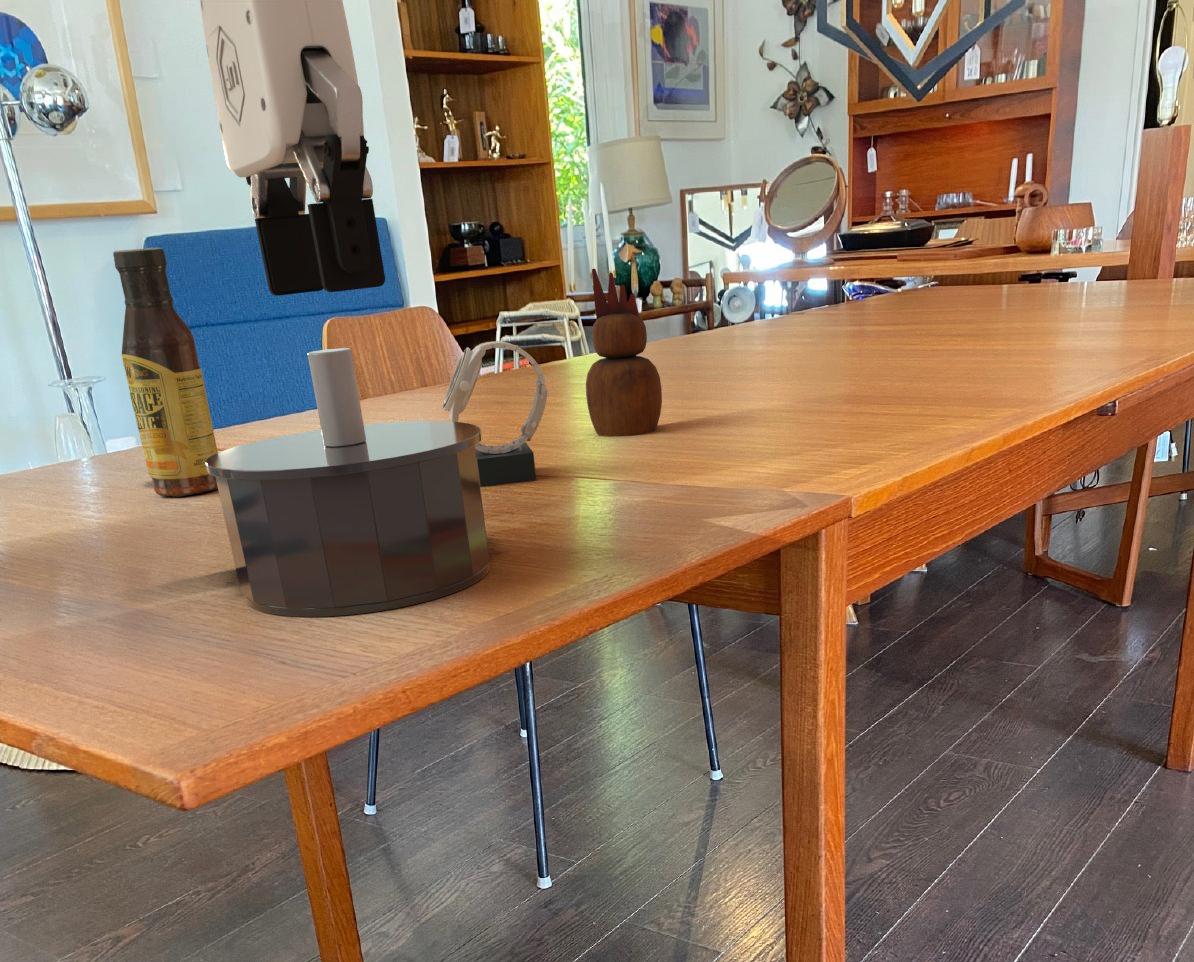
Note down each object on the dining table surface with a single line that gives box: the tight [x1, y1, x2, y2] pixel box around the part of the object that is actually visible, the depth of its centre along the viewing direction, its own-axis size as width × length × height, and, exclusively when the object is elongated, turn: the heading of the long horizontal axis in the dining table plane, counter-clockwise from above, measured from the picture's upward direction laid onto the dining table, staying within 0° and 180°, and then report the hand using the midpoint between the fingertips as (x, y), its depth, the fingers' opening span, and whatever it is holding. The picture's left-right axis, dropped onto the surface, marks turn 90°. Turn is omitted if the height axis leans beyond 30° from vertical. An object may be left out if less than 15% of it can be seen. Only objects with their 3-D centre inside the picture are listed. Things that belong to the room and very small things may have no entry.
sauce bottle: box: [112, 247, 219, 498], centre depth 100 cm, size 6×6×20 cm
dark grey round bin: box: [215, 446, 491, 618], centre depth 68 cm, size 15×15×8 cm
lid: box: [205, 347, 483, 480], centre depth 66 cm, size 16×16×6 cm
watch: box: [442, 340, 548, 488], centre depth 90 cm, size 6×8×11 cm
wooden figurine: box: [585, 268, 663, 437], centre depth 105 cm, size 7×6×15 cm
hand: (325, 291), depth 63 cm, fingers open, 9 cm apart
